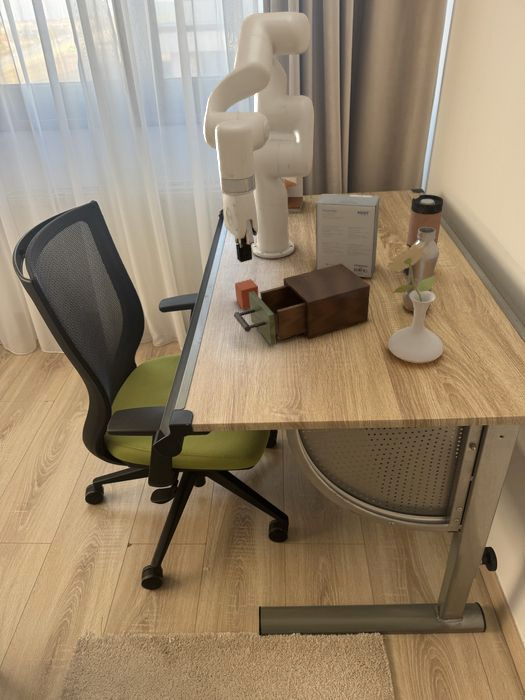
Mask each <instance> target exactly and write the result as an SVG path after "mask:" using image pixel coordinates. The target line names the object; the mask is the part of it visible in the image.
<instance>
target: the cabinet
mask: <svg viewBox="0 0 525 700" xmlns="http://www.w3.org/2000/svg"><path fill="white" fill-rule="evenodd" d="M284 285H288V286H289V287H290V288H291V289H292V290H293V291H294V292H295V293H296V294H297V295H298V296H299V297H300V298H301V299H302V300H303V301H304V302H305V303H306V304H307V332H304V333H302V334H303V335H304V336H305V337H306V339H308V340H310V339H314V338H317V337H321V336H324V335H328V334H330V333H333V332H337V331H340V330H344V329H346V328H347V329H348V328H350V327H353V326H357V325H360V324H363V323H366V322H368V320H369V307H370V306H369V305H370V293H371V284H369V283H368V282H367V281H365V280H364V279H363V278H362V277H359V276H357V275H356V274H355V273H353V272H352V271H351V270H349V269H348V268H347V267H345V266H344V265H343V264H338V265H334V266H330V267H326V268H322V269H318V270H316V269H314V270H311V271H308V272H304V273H299V274H295V275H291V276H288V277H284V278H283V286H284Z"/></svg>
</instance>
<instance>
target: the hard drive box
mask: <svg viewBox="0 0 525 700" xmlns="http://www.w3.org/2000/svg"><path fill="white" fill-rule="evenodd" d="M380 198H381V196H380V195H369V194H343V193H341V194H339V193H321V195H320V196H319V197H318V199H317V200H316V202H315V263H316V265H315V270H318V269H322V268H326V267H330V266H334V265H338V264H343V265H344V266H345V267H347V268H348V269H349V270H351V271H352V272H353V273H355V274H356V275H357V276H359V277H360V278H372V277H373V274H374V271H375V269H376V263H377V262H376V260H377V259H376V258H377V244H378V230H379V215H380V214H379V213H380Z"/></svg>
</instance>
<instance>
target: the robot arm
mask: <svg viewBox="0 0 525 700" xmlns="http://www.w3.org/2000/svg"><path fill="white" fill-rule="evenodd" d="M311 31H312V30H311V23H310V21H309V18H308V16H307V15H306V13H303V12H297V11H271V12H258V13H257V12H256V13H252V14H250V15H248V16H246V17H245V18H244V20H243V21H242V22H241V25H240V28H239V34H238V38H237V39H238V40H237V46H236V52H235V58H234V64H233V69H232V70H231V71H229V72H228V73H227V74H226V75H225V76H224V77H223V78H222V79H221V80H220V81H219V82H218V83H217V84H216V86H215V87H214V88H213V89H212V91H211V93H210V94H209V97H208V99H207V102H206V109H205V114H204V120H203V136H204V140H205V143H206V144H207V145H208V147H210V148H211V149H214V150H216V153H217V162H218V172H219V181H220V190H221V193H222V214H223V215H222V216H223V225H224V227H225V228H226V230H227V231H228V232H229V233H230V234H231V235H232V236H233V237H234V243H235V249H236V250H235V251H236V258H237V260H238V262H239V263H244V262H248V261H252V260H253V254H254V255H255V256H257V257H260V258H263V259H280V258H284V257H288V256H289V255H291V254H293V252H294V251H295V244H294V242H292V241H291V240H290V233H289V232H290V231H289V212H288V194H287V190H286V187H285V185H284V184H283V182H282V181H281V180H280V178H281V177H303V178H305V177H308V176H309V175H310V174H311V172H312V170H313V169H312V168H313V162H314V138H315V137H314V135H315V109H314V104H313V101H312V99H311V98H310V97H309V96H307V95H303V94H292V95H289V94H288V89H287V88H288V86H287V85H288V75H287V72H286V71H285V68H284V67H283V65H282V64H281V63H280V62H279V60H278V59H277V57H275V56H292V55H302V54H304V53H306V51H307V50H308V48H309V46H310V42H311V35H312V34H311V33H312V32H311ZM252 96H254V103H253V105H254V107H253V109H254V110H253V111H228V110H229V109H230V108H231V107H232V106H234V105H236V104H237V103H239V102H242V101H243V100H247V99H248V98H251V97H252ZM270 135H295V136H296V138H297V139H296V140H268V139H269V136H270ZM254 236H255V237H256V241H257V242H255V239H254ZM252 244H253V245H252Z"/></svg>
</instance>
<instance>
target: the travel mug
mask: <svg viewBox="0 0 525 700" xmlns="http://www.w3.org/2000/svg"><path fill="white" fill-rule="evenodd" d="M443 205H444V199H443V197H441V196H438V195H435V194H420V195H419V196H417V197H412V199H411V207H410V214H409V222H408V229H407V237H406V246H409V247H410V248H411V246H412V245H413V244H414V243H415V242H416V241H417V240H418V239H417V235H418V229H419V228H421V227H431V228H434V229H435V230H436V233H435V239H434V242H435V243H436V244H437V245H438V242H439V235H440V229H441V228H440V227H441V220H442V213H443V207H444V206H443ZM404 273H405V274H406V276H409V267H408V268H405V269H404Z"/></svg>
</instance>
